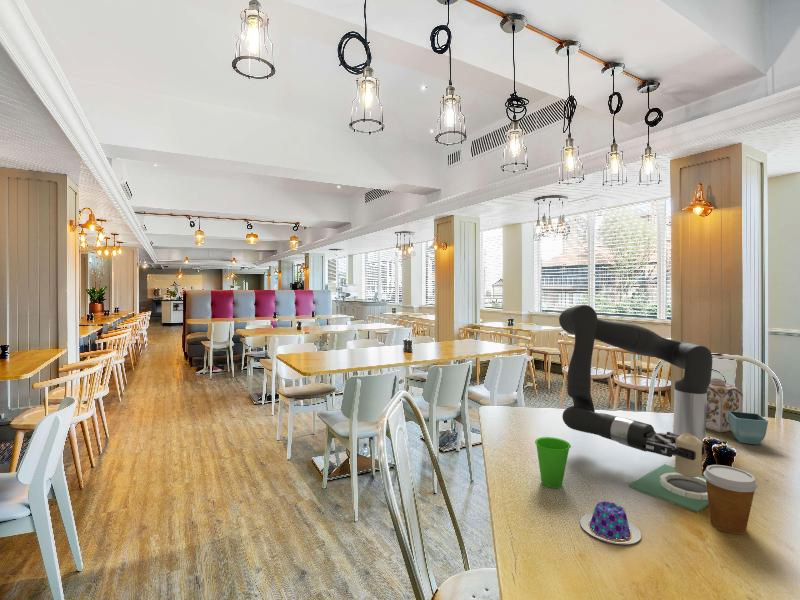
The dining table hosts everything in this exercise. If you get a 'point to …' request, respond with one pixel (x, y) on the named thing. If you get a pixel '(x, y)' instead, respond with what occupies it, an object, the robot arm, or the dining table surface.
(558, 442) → the cup
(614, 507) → the pudding
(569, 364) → the robot arm
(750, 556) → the dining table surface
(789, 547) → the dining table surface
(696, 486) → the putting green
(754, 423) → the flower pot
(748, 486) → the disposable coffee cup
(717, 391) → the decorative jar
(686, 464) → the candle
